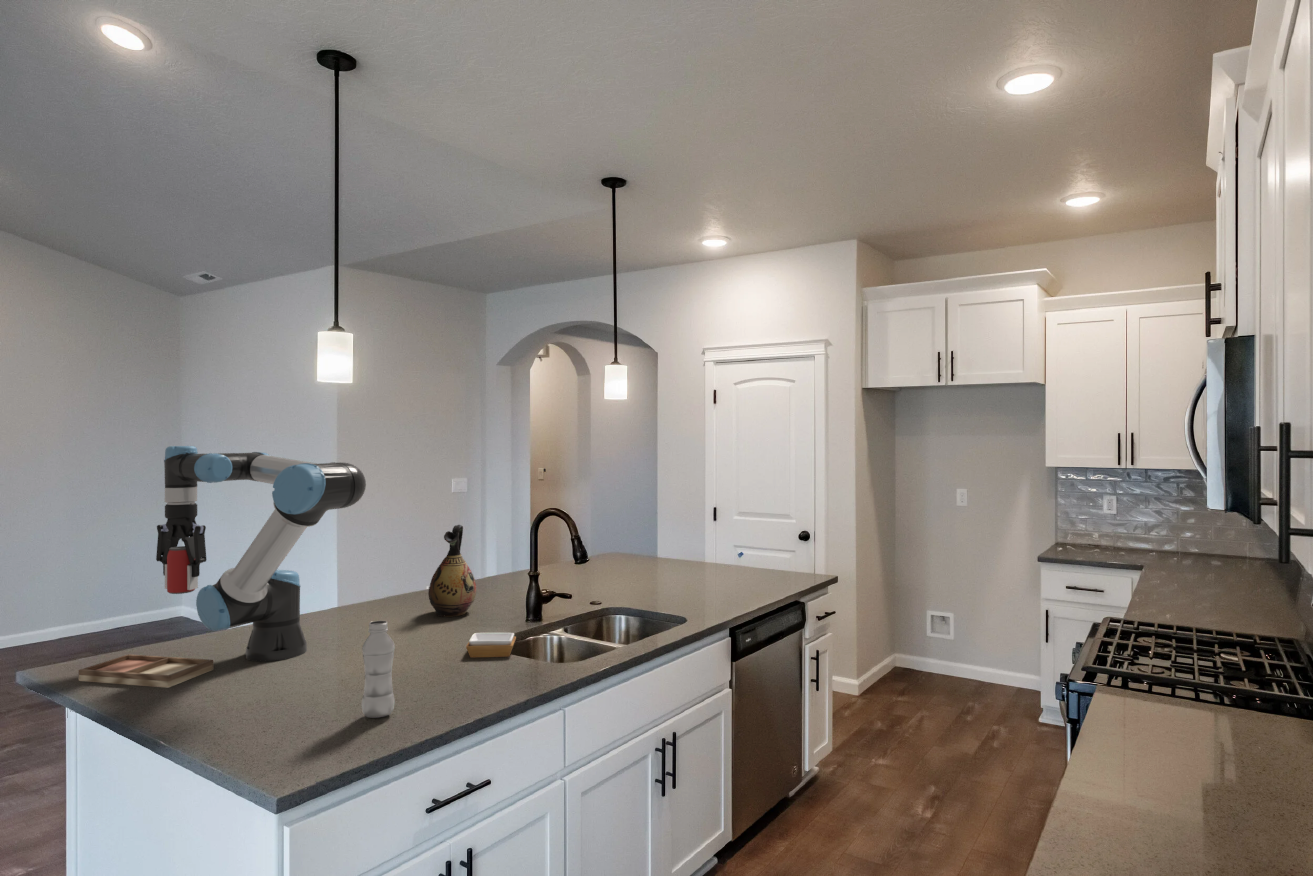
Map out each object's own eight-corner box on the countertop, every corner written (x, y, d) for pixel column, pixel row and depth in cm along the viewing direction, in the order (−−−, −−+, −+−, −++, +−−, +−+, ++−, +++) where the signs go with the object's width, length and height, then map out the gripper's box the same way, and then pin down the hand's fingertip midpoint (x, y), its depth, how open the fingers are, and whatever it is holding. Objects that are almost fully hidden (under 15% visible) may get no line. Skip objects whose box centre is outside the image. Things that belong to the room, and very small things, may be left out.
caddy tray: (213, 670, 198) (213, 659, 198) (168, 687, 185) (168, 676, 185) (128, 664, 204) (128, 654, 204) (78, 681, 190) (78, 670, 190)
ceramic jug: (469, 621, 251) (469, 528, 251) (422, 621, 251) (422, 528, 251) (482, 609, 268) (482, 522, 268) (437, 609, 268) (437, 522, 268)
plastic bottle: (366, 711, 168) (366, 619, 168) (398, 710, 169) (397, 618, 169) (357, 722, 162) (357, 626, 162) (390, 721, 162) (390, 625, 162)
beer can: (181, 595, 205) (181, 549, 205) (160, 593, 206) (160, 548, 206) (201, 590, 211) (201, 546, 211) (181, 589, 213) (181, 545, 213)
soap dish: (465, 660, 207) (465, 641, 207) (471, 650, 217) (471, 632, 217) (513, 659, 208) (512, 640, 208) (516, 649, 218) (516, 631, 218)
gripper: (222, 502, 210) (222, 587, 210) (163, 501, 214) (163, 584, 215) (200, 505, 203) (200, 593, 203) (139, 503, 207) (139, 589, 207)
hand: (181, 588), depth 209 cm, fingers closed on beer can, 7 cm apart
